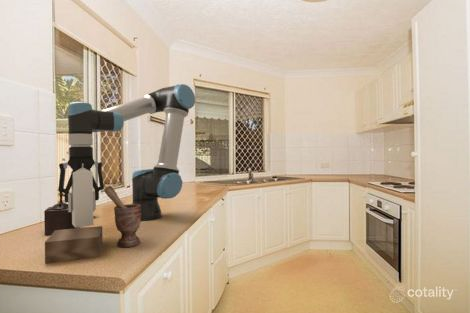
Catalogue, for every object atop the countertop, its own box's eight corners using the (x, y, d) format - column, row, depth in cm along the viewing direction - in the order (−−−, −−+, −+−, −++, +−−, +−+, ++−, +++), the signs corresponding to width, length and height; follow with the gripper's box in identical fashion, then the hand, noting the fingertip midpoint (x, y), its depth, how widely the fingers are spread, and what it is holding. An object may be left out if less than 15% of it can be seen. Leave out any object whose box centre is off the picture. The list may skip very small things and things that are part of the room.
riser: (102, 243, 101) (102, 226, 101) (99, 256, 88) (99, 236, 88) (55, 248, 96) (55, 230, 96) (45, 263, 83) (44, 242, 83)
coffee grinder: (43, 236, 111) (42, 188, 111) (48, 229, 121) (47, 185, 121) (88, 231, 117) (88, 186, 117) (90, 225, 127) (89, 184, 127)
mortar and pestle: (104, 251, 93) (104, 188, 93) (104, 243, 101) (104, 185, 101) (142, 246, 98) (142, 186, 97) (139, 239, 105) (139, 183, 105)
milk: (74, 227, 101) (72, 163, 100) (72, 224, 106) (70, 163, 105) (94, 224, 105) (92, 163, 104) (90, 221, 109) (88, 162, 109)
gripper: (111, 146, 112) (113, 206, 112) (50, 146, 104) (52, 211, 105) (110, 145, 105) (112, 209, 105) (45, 146, 97) (47, 215, 98)
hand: (82, 210), depth 105 cm, fingers closed on milk, 7 cm apart
